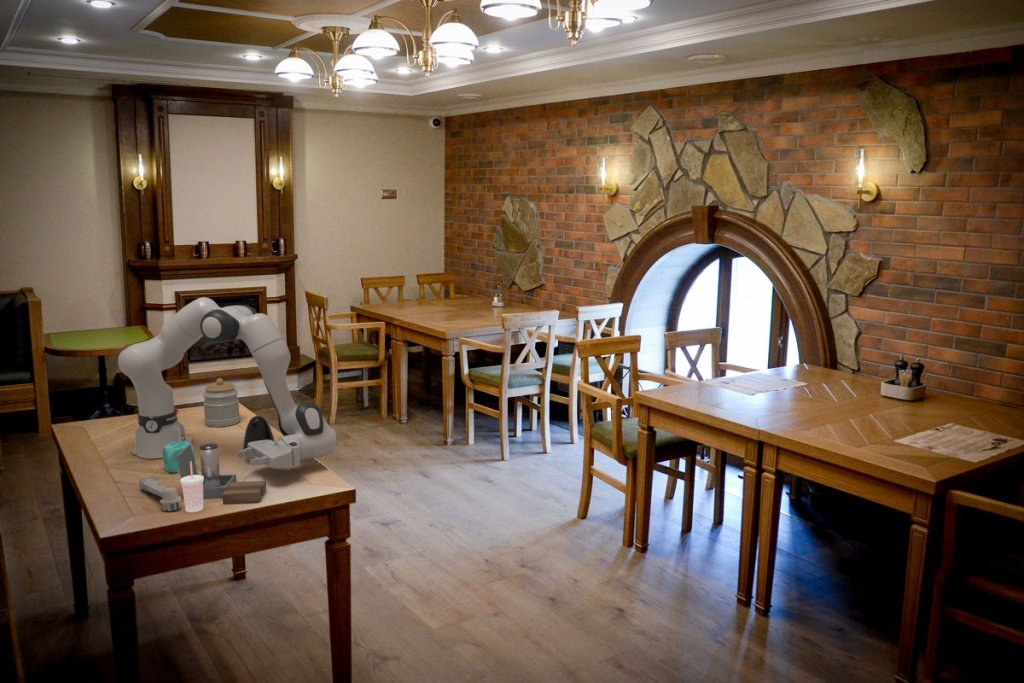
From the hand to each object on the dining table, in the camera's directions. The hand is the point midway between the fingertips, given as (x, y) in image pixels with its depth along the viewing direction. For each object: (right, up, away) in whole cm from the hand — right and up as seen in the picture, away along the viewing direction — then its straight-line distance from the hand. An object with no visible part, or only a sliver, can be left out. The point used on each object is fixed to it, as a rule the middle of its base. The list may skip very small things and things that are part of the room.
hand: (244, 458), depth 249 cm
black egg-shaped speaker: (-2, -4, +23) cm, 24 cm away
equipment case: (-8, -9, -5) cm, 13 cm away
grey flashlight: (-21, -11, -11) cm, 26 cm away
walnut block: (+4, -10, -10) cm, 14 cm away
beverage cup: (-8, -12, -19) cm, 23 cm away
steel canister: (-8, -9, -5) cm, 13 cm away
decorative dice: (-26, -6, +15) cm, 30 cm away
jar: (-31, +4, +68) cm, 75 cm away
